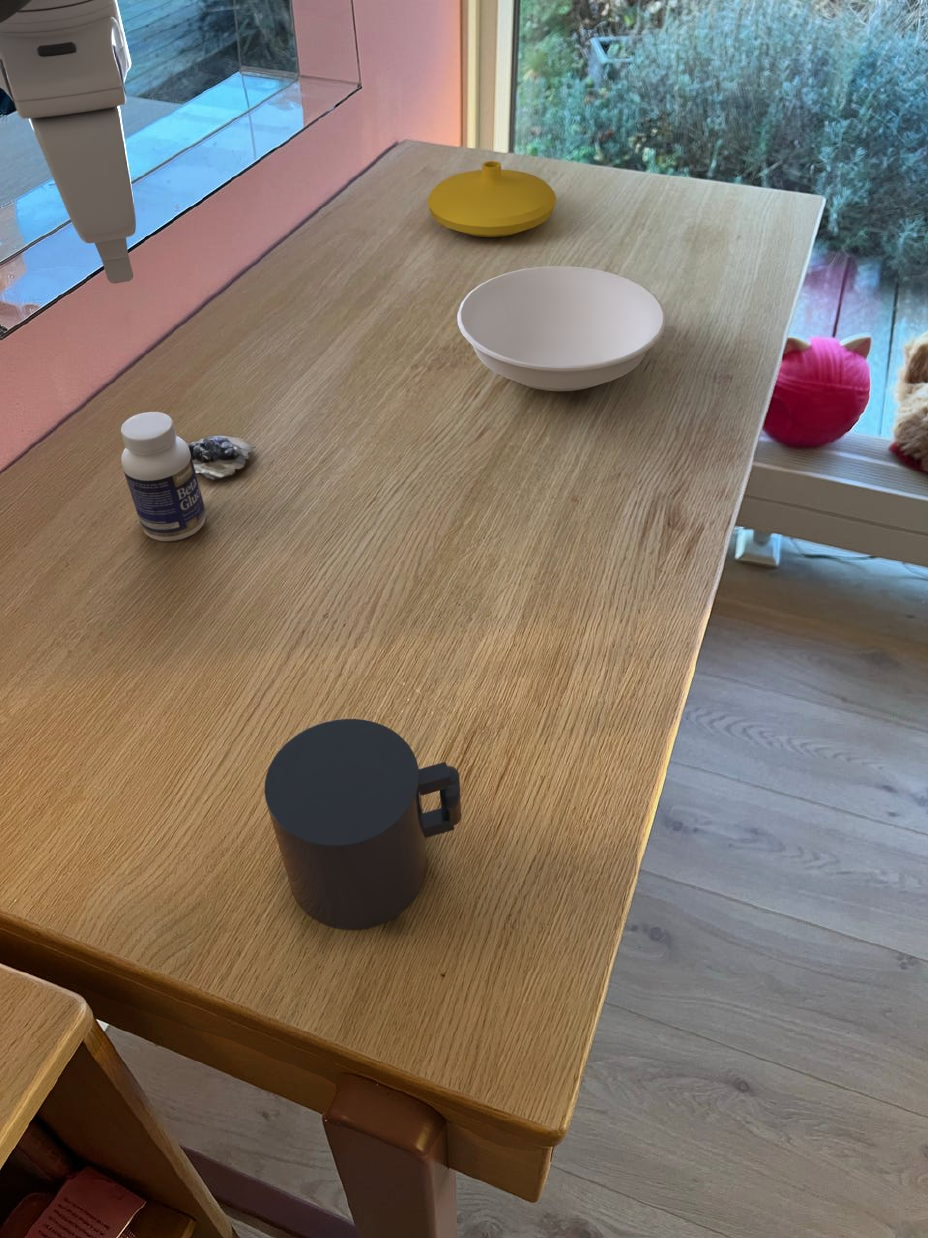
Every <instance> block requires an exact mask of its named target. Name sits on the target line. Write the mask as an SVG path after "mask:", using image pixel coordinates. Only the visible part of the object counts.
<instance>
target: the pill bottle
mask: <svg viewBox="0 0 928 1238" xmlns="http://www.w3.org/2000/svg"><path fill="white" fill-rule="evenodd" d="M120 434H121V437H122V441H123V444H124V446H125V448H124V449H123V451H122V454H121V460H120V463H121V467H122V470H123V474H124V477H125V480H126V482H127V486H128V490H129V491H130V496H131V499H132V501H133V505H134V508H135V511H136V514H137V517H138V521H139V523H140V526H141V528H142V530H143V532H144V534H145V535H146V536H148V537H149V538H151V539H153V540H155V541H160V542H173V541H180V540H183V539H187V538H189V537H191V536H192V535H194V534H196V533H197V532H198V531H200V530H201V529H202V527H203V526H204V524H205V522H206V520H207V519H206V518H207V512H206V507H205V502H204V498H203V496H202V492H201V488H200V483H199V480H198V476H197V473H196V472H195V471H196V470H195V468H194V465H193V461H192V457H191V454H190V450H189V447H188V445H187V444H188V443H187V442H186V441H185V440H184V439H182V438H181V437H180V436H178V435H177V432H176V428H175V424H174V421H173V418H171V416H170V415H168V414H166V413H164V412H159V411H146V412H141V413H138V414H135V415H133V416H130V417H129V418H127V419H126V420H125V421H124V422H123V423H122V425H121V426H120Z"/></svg>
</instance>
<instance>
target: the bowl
mask: <svg viewBox="0 0 928 1238" xmlns="http://www.w3.org/2000/svg"><path fill="white" fill-rule="evenodd" d="M456 317H457V326H458V329H459V331H460V332H461V334H462V336H463V337H464V338H465V339H466V340H467V341H468V343H469V344H470V345H471V346H472V347H473V350H474V352H475V354H476V356H477V359H478V360H480V362H481V363H482V364H483V365H484V366H485V367H486V368H487V369H489V370H491V371H492V372H493V373H495V374H496V375H499V376H501V377H503V378H505V379H507V380H509V381H514V382H515V383H518V384H521V385H523V386H526V387H529V388H532V389H536V390H542V391H548V392H573V391H580V390H581V391H582V390H586V389H589V388H593V387H596V386H599V385H602V384H605V383H609V382H612V381H615V380H616V379H618V378H621V377H623V376H625V375H627V374H628V373H630V372H632V370H635V369H636V367H638V366H639V365H640V363H641V362H642V361H643V360H644V358H645V356H646V354H647V352H648V350H650V349H651V348H652V347H654V345H656V343H657V342H658V341H659V340H660V339H661V338H662V336H663V334H664V331H665V330H666V327H667V314H666V312H665V309H664V306H663V303H662V302H661V301H660V300H659V298H658V297H657V296H656V295H655V294H654V293H653V292H652V291H651V290H650V289H648V288H647V287H645V286H644V285H643V284H640V283H639V282H637V281H636V280H633V279H631V278H628V277H626V276H623V275H620V274H617V273H614V272H611V271H606V270H603V269H600V268H599V269H598V268H592V267H584V266H575V265H574V266H573V265H544V266H536V267H529V268H521V269H518V270H513V271H510V272H506V273H503V274H500V275H498V276H495V277H492V278H489V279H487V280H486V281H484V282H482V283H481V284H478V285H477V286H475V288H473V289H472V290H471V291H470V292H468V293H467V294H466V296H465V297H464V299H463V300H462V301H461V303H460V306H459V308H458V310H457V315H456Z"/></svg>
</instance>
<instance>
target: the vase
mask: <svg viewBox="0 0 928 1238" xmlns="http://www.w3.org/2000/svg"><path fill="white" fill-rule="evenodd" d="M481 168H482V169H477V170H470V171H464V172H462V173H457V174H455V175H452V176H449V177H447V178H445V179H443V180H441V181H440V182H439V183H438V184H437V185H435V186H434V188H433V189H432V190H431V191H430V194H429V195H428V197H427V205H428V208H429V211H430V215H431V216H432V217H433V218H434V220H435V221H436V222H437V223H438V224H440V225H442V226H444V227H445V228H446V229H447V228H448V229H450V230H454V231H457V232H460V233H462V234H465V235H468V236H474V237H481V238H498V237H499V238H500V237H501V238H502V237H506V236H513V235H516V234H520V233H523V232H525V231H527V230H531V229H533V228H535V227H538V226H539V225H541V224H543V223H545V222H546V221H547V220H548V219H549V218H550V217H551V216H552V214H553V211H554V209H555V206H556V202H557V196H556V193H555V191H554V189H553V188H552V187H551V186H550V185H549V184H548V183H547V182H546V181H545V180H544V179H542V178H540V177H538V176H536V175H535V174H530V173H528V172H523V171H519V170H513V169H502V164H501V162H499V161H496V160H489V161H484V162H483V163H482V164H481Z"/></svg>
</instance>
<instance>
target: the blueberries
mask: <svg viewBox="0 0 928 1238" xmlns="http://www.w3.org/2000/svg"><path fill="white" fill-rule="evenodd" d="M186 444H187V445H188V447H189V450H190V454H191V457H192V461H193V465H194V468H195V472H196V474H199V473H200V474H201V475H203V476H204V477H205V478H206V479H211V480H212V481H214V480H219V479H220V480H221V479H222V478H225V477H229V476H232V475H234V473H236V470H241V469H242V468H245V465H246V461H245V460H250V455H248V454H249V453H250V452H253V451H254V450H255V449H256V448H257V447H256V445H255V444H250V443H249V441H246V440H245V439H242V438H240V437H234V436H229V435H223V434H222V435H212V436H208V437H206V438H200V439H199V440H198V441H192V442H191V443H186Z"/></svg>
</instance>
